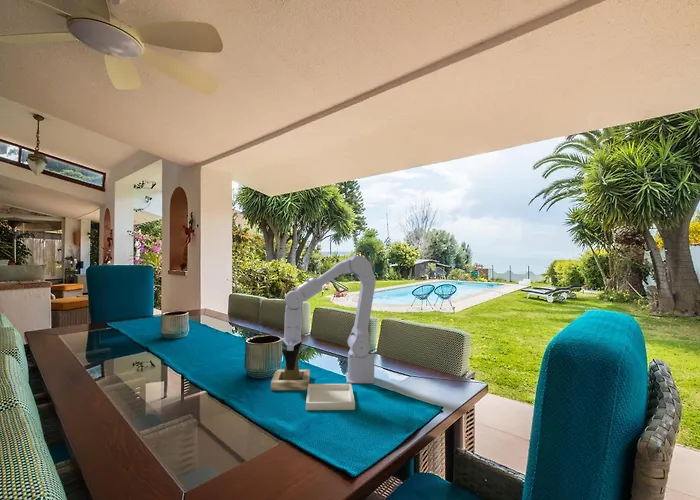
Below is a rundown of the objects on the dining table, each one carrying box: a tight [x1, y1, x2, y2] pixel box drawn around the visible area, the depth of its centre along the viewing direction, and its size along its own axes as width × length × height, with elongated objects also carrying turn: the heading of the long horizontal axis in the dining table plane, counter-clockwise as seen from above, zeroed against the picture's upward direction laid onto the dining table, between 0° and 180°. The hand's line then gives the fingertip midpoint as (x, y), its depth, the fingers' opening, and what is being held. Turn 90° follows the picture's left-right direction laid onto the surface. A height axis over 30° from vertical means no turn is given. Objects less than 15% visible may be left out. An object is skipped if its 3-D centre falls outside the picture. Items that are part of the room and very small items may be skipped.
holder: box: [270, 369, 311, 391], centre depth 115 cm, size 12×12×2 cm
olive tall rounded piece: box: [282, 352, 301, 380], centre depth 115 cm, size 6×6×11 cm
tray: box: [305, 383, 356, 411], centre depth 103 cm, size 14×14×2 cm
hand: (291, 365), depth 115 cm, fingers open, 7 cm apart
